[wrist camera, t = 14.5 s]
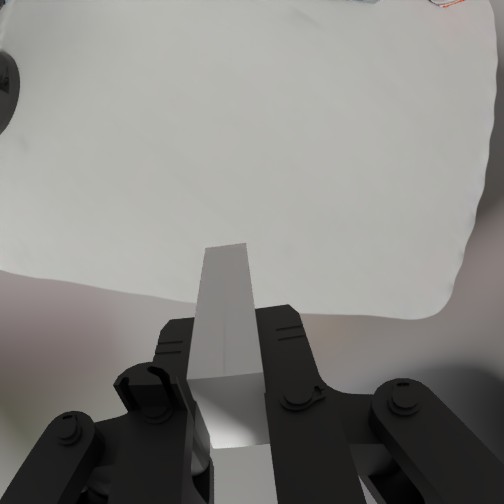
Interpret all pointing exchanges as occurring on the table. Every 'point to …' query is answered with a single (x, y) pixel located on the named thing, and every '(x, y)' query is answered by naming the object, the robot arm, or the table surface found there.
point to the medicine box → (366, 1)
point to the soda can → (445, 2)
